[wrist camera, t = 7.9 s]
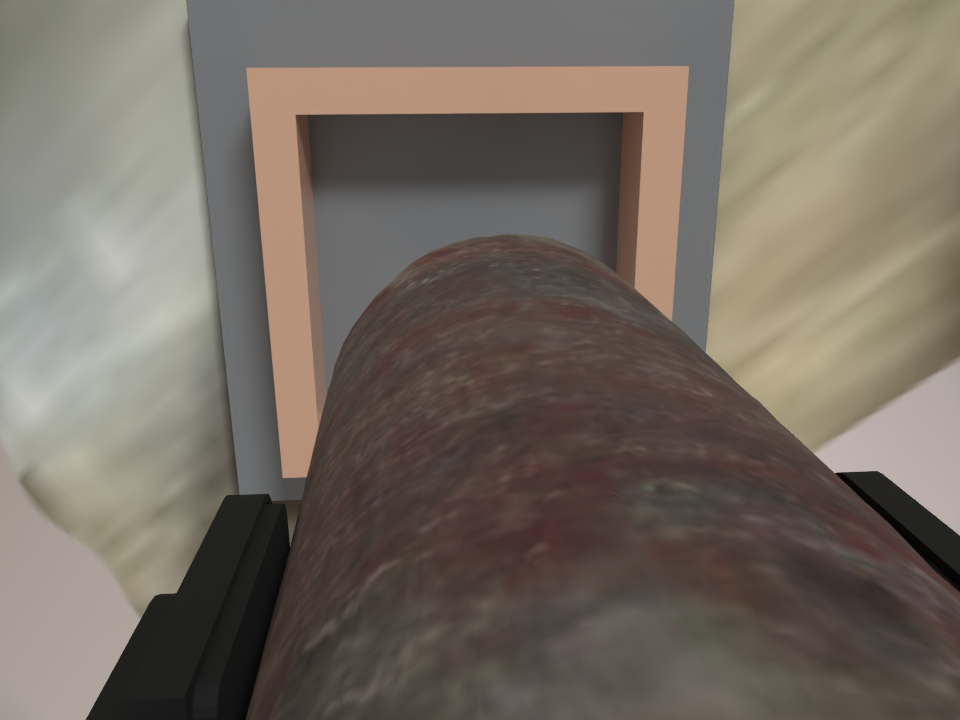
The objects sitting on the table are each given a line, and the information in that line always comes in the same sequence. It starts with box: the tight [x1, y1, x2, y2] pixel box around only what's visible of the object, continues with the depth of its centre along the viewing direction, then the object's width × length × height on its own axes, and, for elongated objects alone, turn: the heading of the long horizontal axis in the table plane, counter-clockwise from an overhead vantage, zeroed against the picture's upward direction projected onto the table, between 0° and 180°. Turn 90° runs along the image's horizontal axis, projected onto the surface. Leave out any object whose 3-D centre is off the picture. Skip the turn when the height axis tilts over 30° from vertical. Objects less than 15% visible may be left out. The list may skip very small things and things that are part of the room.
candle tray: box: [186, 0, 734, 501], centre depth 31 cm, size 20×20×4 cm
